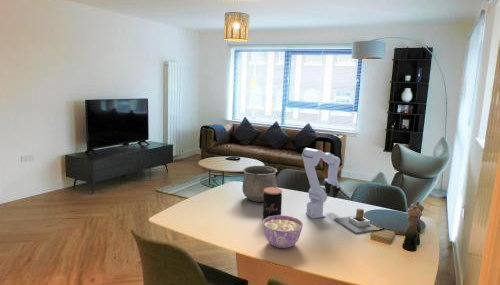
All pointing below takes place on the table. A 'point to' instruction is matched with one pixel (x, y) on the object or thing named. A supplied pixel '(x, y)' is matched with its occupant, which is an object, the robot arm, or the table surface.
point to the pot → (258, 181)
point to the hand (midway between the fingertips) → (331, 195)
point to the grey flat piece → (356, 224)
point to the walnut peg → (359, 214)
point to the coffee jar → (272, 202)
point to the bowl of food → (282, 230)
